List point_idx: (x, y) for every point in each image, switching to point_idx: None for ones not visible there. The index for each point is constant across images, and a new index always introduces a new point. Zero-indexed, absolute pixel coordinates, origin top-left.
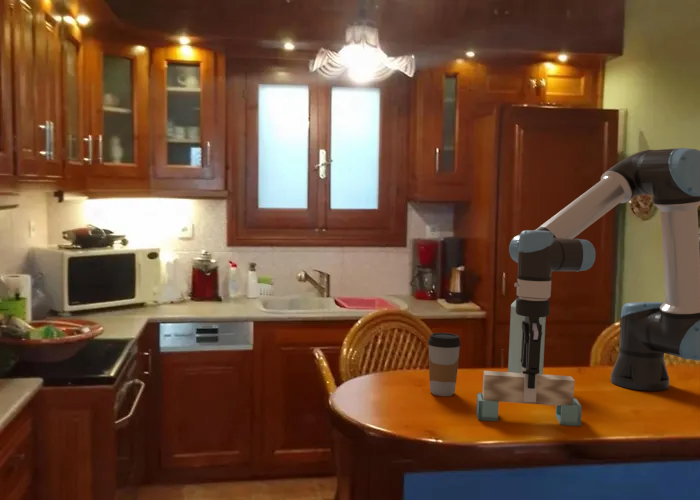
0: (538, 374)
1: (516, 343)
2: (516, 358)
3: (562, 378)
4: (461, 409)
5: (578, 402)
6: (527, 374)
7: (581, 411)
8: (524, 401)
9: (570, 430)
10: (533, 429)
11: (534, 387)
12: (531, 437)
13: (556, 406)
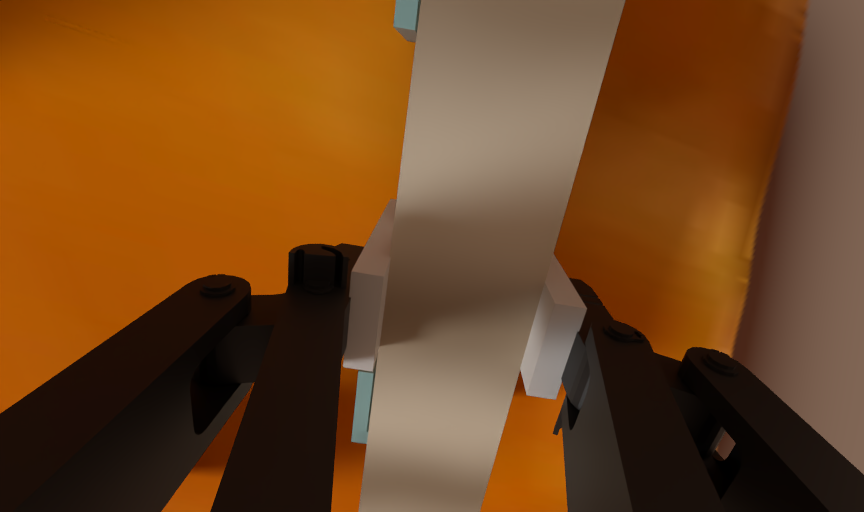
0: (407, 222)
1: None
2: None
3: (555, 2)
4: (345, 420)
5: None
6: (561, 378)
7: None
8: None
9: (648, 42)
10: (606, 227)
11: (588, 286)
12: (704, 266)
13: (415, 36)
